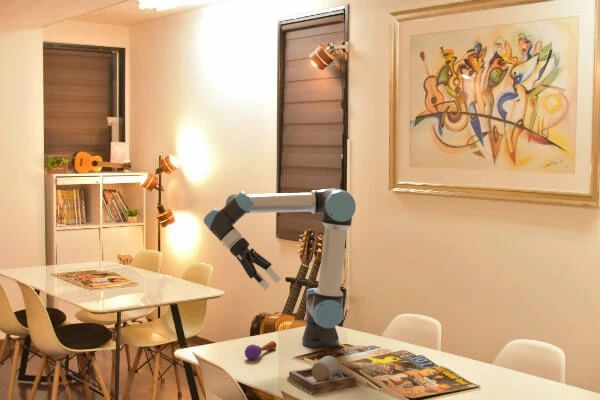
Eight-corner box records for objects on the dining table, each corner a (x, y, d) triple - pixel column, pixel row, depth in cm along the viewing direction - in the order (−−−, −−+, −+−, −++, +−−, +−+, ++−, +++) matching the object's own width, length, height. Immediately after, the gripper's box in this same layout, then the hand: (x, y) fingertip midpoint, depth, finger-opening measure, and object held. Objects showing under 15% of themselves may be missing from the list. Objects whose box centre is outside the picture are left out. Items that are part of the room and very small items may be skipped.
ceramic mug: (309, 381, 286) (310, 359, 286) (320, 374, 294) (321, 353, 293) (337, 386, 281) (337, 364, 281) (347, 379, 288) (348, 358, 288)
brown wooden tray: (331, 372, 301) (331, 363, 300) (357, 386, 285) (357, 377, 285) (287, 379, 292) (287, 371, 292) (312, 394, 276) (312, 385, 276)
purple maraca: (280, 340, 332) (257, 348, 314) (277, 354, 332) (254, 363, 314) (267, 335, 334) (243, 343, 316) (265, 350, 335) (240, 358, 317)
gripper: (240, 245, 329) (277, 284, 326) (217, 254, 305) (256, 297, 302) (253, 232, 327) (289, 271, 324) (230, 241, 303) (269, 283, 300)
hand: (273, 284), depth 313 cm, fingers open, 13 cm apart
